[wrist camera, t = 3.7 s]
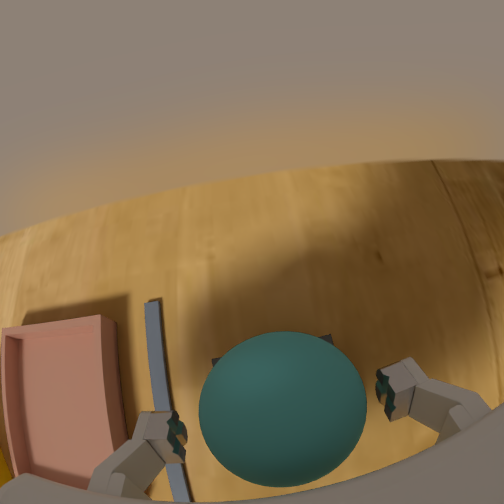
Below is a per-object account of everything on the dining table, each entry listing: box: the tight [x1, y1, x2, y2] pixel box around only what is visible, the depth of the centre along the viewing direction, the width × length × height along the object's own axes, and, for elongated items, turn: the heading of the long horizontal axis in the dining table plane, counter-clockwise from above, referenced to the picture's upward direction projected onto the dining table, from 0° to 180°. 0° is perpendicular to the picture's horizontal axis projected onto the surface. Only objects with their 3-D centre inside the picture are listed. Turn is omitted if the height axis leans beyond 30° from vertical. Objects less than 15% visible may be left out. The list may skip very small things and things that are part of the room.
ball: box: [199, 331, 367, 487], centre depth 10 cm, size 6×6×6 cm
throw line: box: [144, 301, 192, 502], centre depth 14 cm, size 1×15×1 cm, turn 11°
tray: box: [1, 314, 129, 490], centre depth 14 cm, size 11×13×2 cm
